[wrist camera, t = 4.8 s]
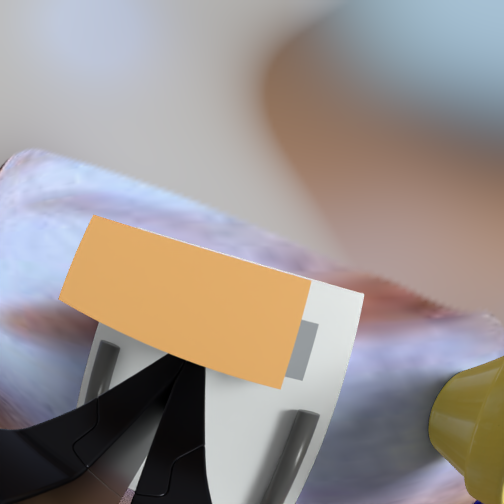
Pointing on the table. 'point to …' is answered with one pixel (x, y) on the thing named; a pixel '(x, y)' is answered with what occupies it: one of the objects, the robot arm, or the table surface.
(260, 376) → the lever
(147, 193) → the table surface
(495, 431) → the plant pot
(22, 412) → the table surface
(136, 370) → the white base plate
